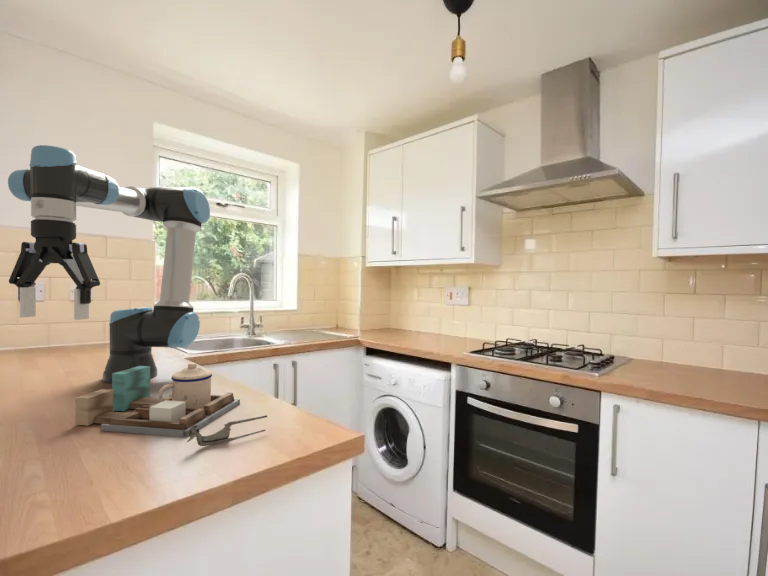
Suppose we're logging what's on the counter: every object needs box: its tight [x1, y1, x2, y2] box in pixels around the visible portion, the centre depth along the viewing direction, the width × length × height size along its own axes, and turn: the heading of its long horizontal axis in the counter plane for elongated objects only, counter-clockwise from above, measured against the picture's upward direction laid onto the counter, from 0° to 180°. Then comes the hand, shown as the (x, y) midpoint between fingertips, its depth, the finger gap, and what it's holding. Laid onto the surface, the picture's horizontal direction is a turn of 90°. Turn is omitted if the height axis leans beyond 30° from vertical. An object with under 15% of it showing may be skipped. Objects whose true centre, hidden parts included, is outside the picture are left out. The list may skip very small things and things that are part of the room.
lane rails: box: [100, 394, 241, 438], centre depth 92 cm, size 22×20×1 cm
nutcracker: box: [186, 415, 268, 447], centre depth 79 cm, size 16×1×5 cm, turn 133°
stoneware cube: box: [148, 400, 186, 423], centre depth 86 cm, size 5×5×5 cm
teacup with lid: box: [157, 362, 213, 409], centre depth 96 cm, size 12×9×12 cm
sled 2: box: [111, 366, 235, 416], centre depth 97 cm, size 12×26×9 cm, turn 83°
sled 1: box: [75, 388, 205, 430], centre depth 87 cm, size 8×26×6 cm, turn 83°
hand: (54, 318), depth 85 cm, fingers open, 13 cm apart
